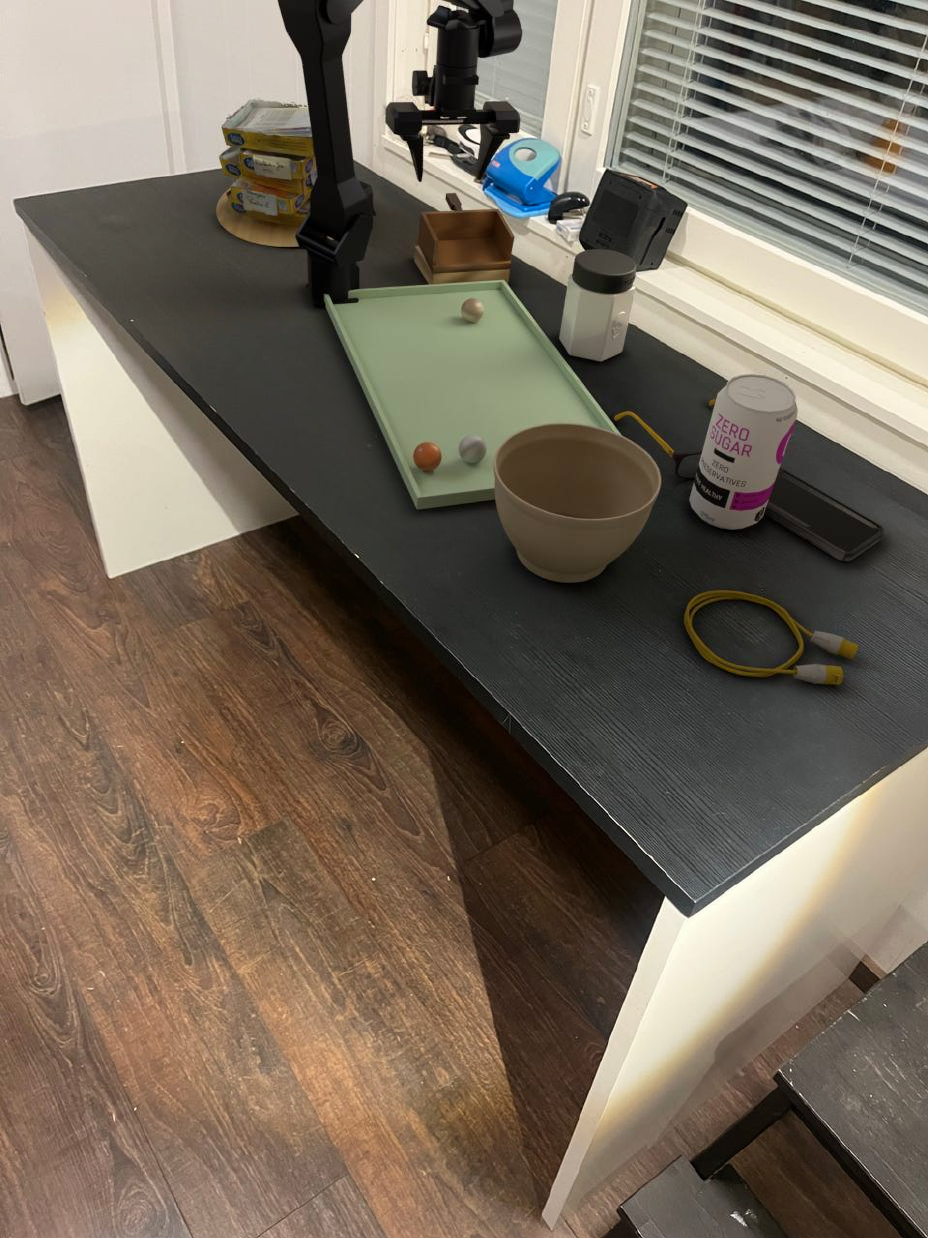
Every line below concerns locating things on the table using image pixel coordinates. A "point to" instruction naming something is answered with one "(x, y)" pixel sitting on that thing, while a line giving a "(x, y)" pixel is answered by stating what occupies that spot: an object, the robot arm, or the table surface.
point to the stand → (456, 277)
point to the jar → (598, 304)
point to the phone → (821, 518)
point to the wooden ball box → (465, 239)
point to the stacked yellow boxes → (267, 172)
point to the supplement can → (743, 450)
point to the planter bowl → (572, 497)
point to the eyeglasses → (676, 456)
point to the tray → (456, 379)
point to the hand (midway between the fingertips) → (449, 179)
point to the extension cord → (822, 639)
